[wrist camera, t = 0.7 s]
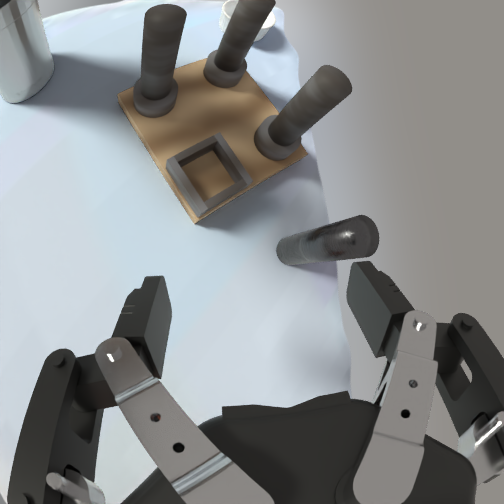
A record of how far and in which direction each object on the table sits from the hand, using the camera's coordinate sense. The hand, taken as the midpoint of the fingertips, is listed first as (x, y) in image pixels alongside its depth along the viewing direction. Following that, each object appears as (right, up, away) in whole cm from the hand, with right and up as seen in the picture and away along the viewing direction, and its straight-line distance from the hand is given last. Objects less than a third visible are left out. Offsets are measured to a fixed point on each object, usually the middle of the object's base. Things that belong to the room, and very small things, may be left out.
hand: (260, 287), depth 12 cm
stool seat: (-5, +17, +22) cm, 28 cm away
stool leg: (+4, +2, +24) cm, 24 cm away
